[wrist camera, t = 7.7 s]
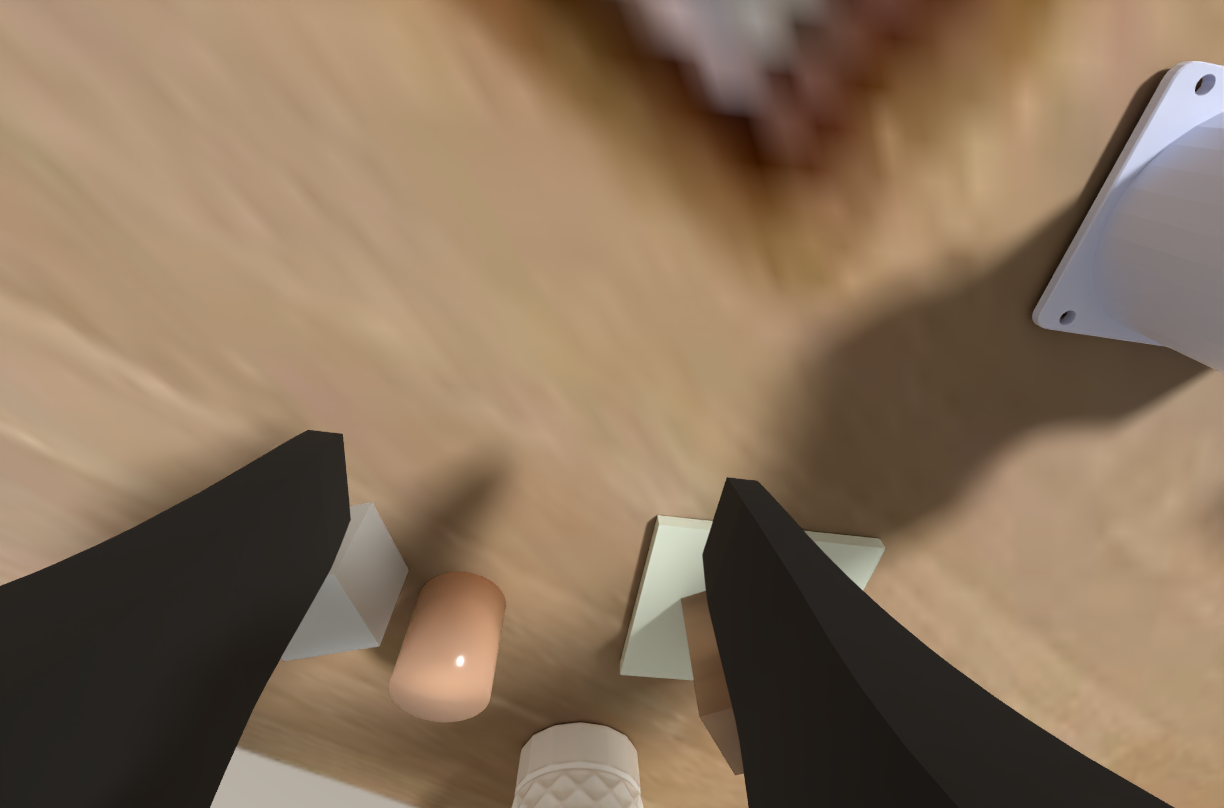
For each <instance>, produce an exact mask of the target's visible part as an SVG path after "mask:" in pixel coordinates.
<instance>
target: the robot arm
mask: <svg viewBox="0 0 1224 808" xmlns="http://www.w3.org/2000/svg"><path fill="white" fill-rule="evenodd" d="M1201 78H1202V80H1203V81H1202V84H1201V87H1200V88H1199V89H1198V90H1197V91H1196V92H1195V87H1196V84H1197V82H1198V81H1199V80H1200V79H1201ZM1067 311H1068V312H1067ZM1065 312H1067V315H1066V316H1065V317H1064V318H1063V319H1061V320H1060V317H1061V316H1062V314H1063V313H1065ZM1032 320H1033V322H1034V323H1035V324H1036V325H1038V326H1040V327H1042V328H1045V329H1050V330H1056V331H1063V332H1070V333H1077V334H1083V335H1090V336H1097V337H1104V338H1110V339H1117V340H1124V341H1131V342H1137V343H1144V344H1151V345H1158V346H1164V347H1169V348H1171V349H1173V350H1175V351H1177V352H1179V353H1181V354H1183V355H1185V356H1187V357H1190V358H1192V359H1194V360H1196V361H1198V362H1200V363H1202V364H1204V365H1206V366H1208V367H1210V368H1213V369H1215V370H1217V371H1219V372H1221V373H1223V374H1224V66H1221V65H1216V64H1211V63H1206V62H1202V61H1186V62H1181V63H1179V64H1176V65H1175V66H1173V67H1172V68H1171V69H1170V70H1169V71H1168V72H1167V73H1166V74H1165V76H1164V77H1163V79H1162V80H1161V82H1160V84H1159V86H1158V88H1157V89H1156V91H1155V93H1154V95H1153V97H1152V98H1151V100H1150V102H1149V104H1148V106H1147V107H1146V109H1145V111H1144V113H1143V115H1142V116H1141V118H1140V120H1139V122H1138V124H1137V125H1136V127H1135V129H1134V131H1133V133H1132V134H1131V136H1130V138H1129V140H1128V142H1127V143H1126V145H1125V147H1124V149H1123V151H1122V152H1121V154H1120V156H1119V158H1118V160H1117V161H1116V163H1115V165H1114V167H1113V169H1112V170H1111V172H1110V174H1109V176H1108V178H1107V179H1106V181H1105V183H1104V185H1103V187H1102V188H1101V190H1100V192H1099V194H1098V196H1097V197H1096V199H1095V201H1094V203H1093V205H1092V207H1091V208H1090V210H1089V212H1088V214H1087V216H1086V217H1085V219H1084V221H1083V223H1082V225H1081V226H1080V228H1079V230H1078V232H1077V234H1076V235H1075V237H1074V239H1073V241H1072V243H1071V244H1070V246H1069V248H1068V250H1067V252H1066V253H1065V255H1064V257H1063V259H1062V261H1061V262H1060V264H1059V266H1058V268H1057V270H1056V271H1055V273H1054V275H1053V277H1052V279H1051V280H1050V282H1049V284H1048V286H1047V288H1046V289H1045V291H1044V293H1043V295H1042V297H1041V298H1040V300H1039V302H1038V304H1037V306H1036V307H1035V309H1034V311H1033V314H1032ZM350 521H351V516H350V505H349V495H348V484H347V474H346V463H345V452H344V442H343V434H339V433H330V432H321V431H313V430H307V431H305V432H303V433H301V434H299V435H298V436H296V437H294V438H292V439H290V440H289V441H287V442H285V443H284V444H282V445H280V446H278V447H277V448H275V449H273V450H272V451H270V452H268V453H267V454H265V455H263V456H262V457H260V458H258V459H256V460H255V461H253V462H251V463H250V464H248V465H246V466H245V467H243V468H241V469H239V470H238V471H236V472H234V473H233V474H231V475H229V476H227V477H226V478H224V479H222V480H221V481H219V482H217V483H215V484H214V485H212V486H210V487H208V488H207V489H205V490H203V491H201V492H200V493H198V494H196V495H194V496H192V497H190V498H188V499H186V500H185V501H183V502H181V503H179V504H177V505H175V506H173V507H171V508H170V509H168V510H166V511H164V512H162V513H160V514H158V515H156V516H154V517H153V518H151V519H149V520H147V521H145V522H143V523H141V524H139V525H137V526H136V527H134V528H131V529H129V530H127V531H125V532H123V533H121V534H119V535H117V536H115V537H113V538H111V539H109V540H107V541H105V542H102V543H100V544H98V545H96V546H94V547H92V548H89V549H87V550H85V551H83V552H81V553H78V554H76V555H74V556H72V557H69V558H67V559H65V560H63V561H60V562H58V563H56V564H54V565H51V566H49V567H47V568H44V569H42V570H40V571H37V572H35V573H32V574H30V575H27V576H25V577H22V578H20V579H17V580H14V581H12V582H9V583H7V584H4V585H2V586H0V808H210V806H211V803H212V801H213V799H214V796H215V794H216V792H217V790H218V787H219V785H220V782H221V780H222V778H223V775H224V773H225V771H226V768H227V766H228V764H229V762H230V760H231V757H232V755H233V753H234V751H235V748H236V746H237V744H238V742H239V739H240V737H241V735H242V733H243V731H244V728H245V726H246V724H247V722H248V719H249V717H250V715H251V713H252V711H253V708H254V707H255V705H256V703H257V701H258V699H259V697H260V695H261V693H262V691H263V689H264V687H265V685H266V683H267V681H268V680H269V678H270V676H271V674H272V673H273V671H274V669H275V667H276V666H277V664H278V662H279V660H280V659H281V657H282V655H283V653H284V652H285V650H286V648H287V646H288V645H289V643H290V641H291V639H292V638H293V636H294V634H295V632H296V631H297V629H298V627H299V625H300V624H301V622H302V620H303V618H304V617H305V615H306V613H307V611H308V610H309V608H310V606H311V604H312V602H313V601H314V599H315V597H316V595H317V593H318V592H319V590H320V588H321V586H322V585H323V583H324V581H325V579H326V577H327V575H328V574H329V572H330V570H331V568H332V566H333V563H334V561H335V558H336V556H337V554H338V551H339V549H340V546H341V544H342V541H343V539H344V536H345V534H346V531H347V528H348V526H349V523H350ZM702 558H703V568H704V579H705V588H706V596H707V604H708V608H709V613H710V617H711V621H712V626H713V630H714V634H715V638H716V643H717V647H718V651H719V655H720V659H721V663H722V667H723V671H724V676H725V680H726V684H727V688H728V692H729V696H730V700H731V704H732V709H733V713H734V717H735V722H736V727H737V732H738V737H739V742H740V749H741V756H742V763H743V770H744V777H745V784H746V791H747V798H748V806H749V808H1174V807H1172V806H1171V805H1169V804H1167V803H1165V802H1164V801H1162V800H1160V799H1159V798H1157V797H1155V796H1153V795H1152V794H1150V793H1148V792H1146V791H1145V790H1143V789H1141V788H1140V787H1138V786H1136V785H1134V784H1133V783H1131V782H1129V781H1128V780H1126V779H1124V778H1122V777H1121V776H1119V775H1117V774H1115V773H1114V772H1112V771H1110V770H1109V769H1107V768H1105V767H1103V766H1102V765H1100V764H1098V763H1096V762H1095V761H1093V760H1091V759H1090V758H1088V757H1086V756H1085V755H1083V754H1081V753H1080V752H1078V751H1077V750H1075V749H1073V748H1072V747H1070V746H1069V745H1067V744H1066V743H1064V742H1062V741H1061V740H1059V739H1058V738H1056V737H1055V736H1053V735H1052V734H1050V733H1048V732H1047V731H1045V730H1044V729H1042V728H1041V727H1039V726H1038V725H1036V724H1034V723H1033V722H1031V721H1030V720H1028V719H1027V718H1025V717H1024V716H1022V715H1021V714H1019V713H1018V712H1016V711H1015V710H1013V709H1012V708H1010V707H1009V706H1008V705H1006V704H1005V703H1003V702H1002V701H1000V700H999V699H997V698H996V697H994V696H993V695H992V694H990V693H989V692H987V691H986V690H985V689H983V688H982V687H981V686H979V685H978V684H976V683H975V682H974V681H972V680H971V679H970V678H968V677H967V676H966V675H964V674H963V673H961V672H960V671H959V670H957V669H956V668H955V667H953V666H952V665H950V664H949V663H948V662H947V661H945V660H944V659H943V658H941V657H940V656H939V655H938V654H936V653H935V652H934V651H932V650H931V649H930V648H929V647H927V646H926V645H925V644H924V643H923V642H921V641H920V640H919V639H918V638H917V637H915V636H914V635H913V634H912V633H911V632H909V631H908V630H907V629H906V628H904V627H903V626H902V625H901V624H900V623H898V622H897V621H896V620H895V619H894V618H892V617H891V616H890V615H889V614H888V613H887V612H886V611H885V610H883V609H882V608H881V607H880V606H879V605H878V604H877V603H876V602H875V601H873V600H872V599H871V598H870V597H869V596H868V595H867V594H866V593H865V592H864V591H863V590H862V589H861V588H860V587H859V586H858V585H857V584H856V583H854V582H853V581H852V580H851V579H850V578H849V577H848V576H847V575H846V574H845V573H844V572H843V571H842V570H841V569H840V568H839V567H838V566H837V565H836V564H835V563H834V562H833V561H832V560H831V559H830V558H829V557H828V556H827V555H826V554H825V553H824V552H823V551H822V550H821V548H820V547H819V546H818V545H817V544H816V543H815V542H814V541H813V540H812V539H811V538H810V537H809V536H808V535H807V534H806V533H805V531H804V530H803V529H802V528H801V527H800V526H799V525H798V524H797V523H796V522H795V521H794V519H793V518H792V517H791V516H790V515H789V514H788V513H787V512H786V511H785V510H784V509H783V507H782V506H781V505H780V504H779V503H778V502H777V501H776V500H775V499H774V498H773V497H772V495H771V494H770V493H769V492H768V491H767V490H766V489H765V488H764V487H763V486H762V485H761V484H760V483H759V482H758V481H754V480H745V479H736V478H728V477H727V479H726V482H725V485H724V488H723V491H722V494H721V498H720V501H719V504H718V507H717V510H716V513H715V516H714V519H713V522H712V526H711V529H710V532H709V535H708V538H707V541H706V544H705V547H704V550H703V554H702Z"/></svg>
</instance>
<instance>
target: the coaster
mask: <svg viewBox="0 0 1224 808" xmlns="http://www.w3.org/2000/svg"><path fill="white" fill-rule="evenodd" d="M712 522H713V521H707V520H698V519H688V518H679V517H669V516H660V515H658V516H657V520H656V524H655V528H654V532H653V536H652V540H651V543H650V547H649V551H648V555H647V559H646V563H645V567H644V571H643V575H642V579H641V582H640V586H639V590H638V594H637V598H636V602H635V606H634V610H633V614H632V618H631V622H630V625H629V629H628V633H627V637H626V641H625V645H624V649H623V653H622V657H621V661H620V675H629V676H642V677H655V678H668V679H681V680H694V679H693V673H692V667H691V660H690V654H689V648H688V642H687V635H686V629H685V623H684V617H683V611H682V604H681V598H684V597H687V596H690V595H693V594H697V593H700V592H703V591H706V588H705V579H704V568H703V558H702V554H703V550H704V547H705V544H706V541H707V538H708V535H709V532H710V529H711V526H712ZM805 533H806V534H807V535H808V536H809V537H810V538H811V539H812V540H813V541H814V542H815V543H816V544H817V545H818V546H819V547H820V548H821V550H822V551H823V552H824V553H825V554H826V555H827V556H828V557H829V558H830V559H831V560H832V561H833V562H834V563H835V564H836V565H837V566H838V567H839V568H840V569H841V570H842V571H843V572H844V573H845V574H846V575H847V576H848V577H849V578H850V579H851V580H852V581H853V582H854V583H856V584H857V585H858V586H859V587H860V588H861V589H862V590H864V588H865V586H866V584H867V582H868V581H869V579H870V577H871V575H872V573H873V571H874V569H875V567H876V566H877V564H878V562H879V560H880V558H881V556H882V554H883V553H884V551H885V549H886V548H885V547H884V545H883V543H882V542H881V540H880V539H878V538H869V537H859V536H850V535H840V534H831V533H821V532H812V531H805Z"/></svg>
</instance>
